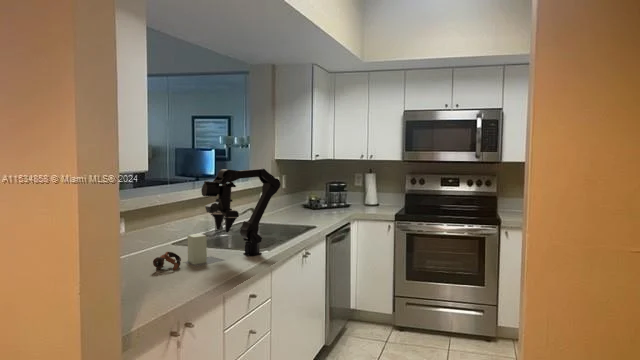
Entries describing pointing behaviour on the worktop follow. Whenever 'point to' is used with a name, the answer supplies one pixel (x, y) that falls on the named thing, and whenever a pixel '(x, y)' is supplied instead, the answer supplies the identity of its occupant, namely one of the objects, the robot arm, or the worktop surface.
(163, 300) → the worktop surface
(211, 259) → the slate mat
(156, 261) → the red and black headphones
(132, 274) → the worktop surface
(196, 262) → the sage cover
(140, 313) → the worktop surface
